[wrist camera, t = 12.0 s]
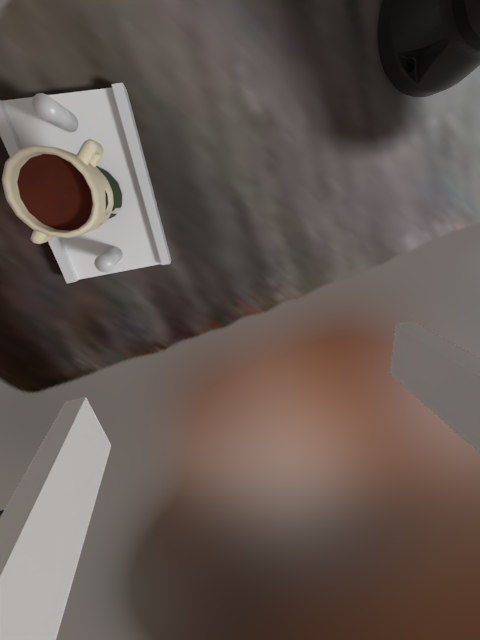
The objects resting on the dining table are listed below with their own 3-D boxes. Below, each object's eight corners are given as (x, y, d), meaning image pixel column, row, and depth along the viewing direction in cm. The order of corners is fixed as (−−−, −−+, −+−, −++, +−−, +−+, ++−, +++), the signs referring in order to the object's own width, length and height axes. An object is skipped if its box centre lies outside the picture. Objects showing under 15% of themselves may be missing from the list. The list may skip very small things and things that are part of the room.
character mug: (101, 246, 37) (63, 272, 25) (46, 210, 34) (-25, 220, 22) (146, 177, 34) (127, 169, 23) (91, 132, 31) (37, 97, 20)
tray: (126, 90, 32) (111, 63, 25) (171, 259, 41) (168, 273, 34) (-2, 106, 30) (-54, 81, 24) (73, 278, 39) (51, 295, 32)
